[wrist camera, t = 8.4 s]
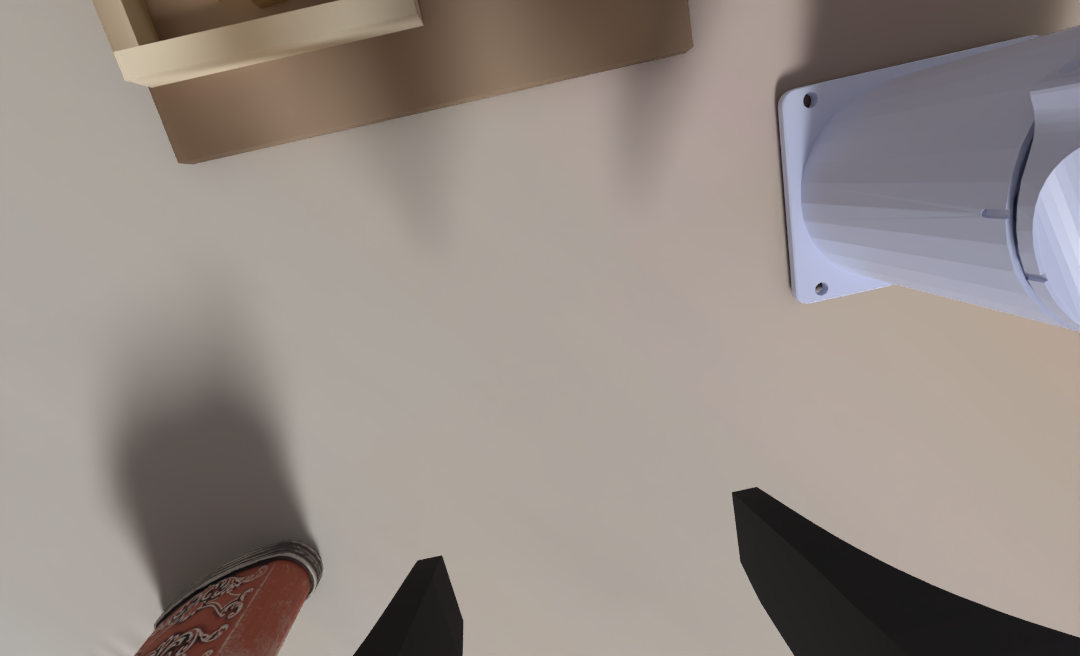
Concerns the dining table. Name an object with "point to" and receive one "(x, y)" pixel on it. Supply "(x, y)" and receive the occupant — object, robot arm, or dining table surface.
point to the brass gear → (264, 2)
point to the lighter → (239, 605)
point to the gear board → (362, 59)
